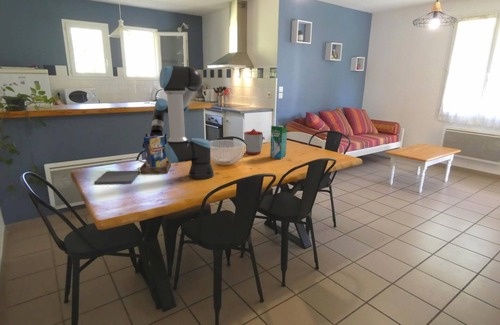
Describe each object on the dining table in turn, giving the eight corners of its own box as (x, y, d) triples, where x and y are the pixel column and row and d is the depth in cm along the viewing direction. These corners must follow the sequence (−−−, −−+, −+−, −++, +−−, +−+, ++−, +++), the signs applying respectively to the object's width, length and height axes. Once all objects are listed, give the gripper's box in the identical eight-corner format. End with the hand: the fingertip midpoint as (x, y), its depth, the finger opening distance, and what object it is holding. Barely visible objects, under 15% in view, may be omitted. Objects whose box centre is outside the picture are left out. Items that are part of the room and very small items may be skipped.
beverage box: (166, 169, 197) (164, 136, 191) (152, 172, 189) (149, 138, 183) (160, 167, 201) (158, 135, 195) (146, 170, 193) (143, 137, 187)
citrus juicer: (265, 155, 235) (265, 130, 229) (243, 155, 235) (243, 130, 230) (264, 151, 250) (265, 127, 244) (243, 150, 250) (244, 127, 245)
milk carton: (285, 157, 232) (287, 125, 225) (280, 159, 225) (282, 126, 218) (275, 155, 237) (276, 124, 230) (270, 157, 230) (271, 125, 223)
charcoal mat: (140, 172, 188) (139, 170, 188) (131, 183, 169) (131, 181, 168) (107, 173, 186) (106, 171, 185) (94, 184, 167) (94, 181, 166)
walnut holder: (171, 166, 203) (170, 160, 202) (167, 173, 188) (166, 167, 187) (146, 166, 202) (145, 160, 201) (140, 173, 186) (139, 167, 185)
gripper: (174, 131, 204) (171, 159, 193) (142, 131, 202) (138, 159, 191) (172, 124, 198) (170, 153, 187) (139, 124, 195) (135, 153, 184)
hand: (154, 156), depth 189 cm, fingers closed on beverage box, 8 cm apart
